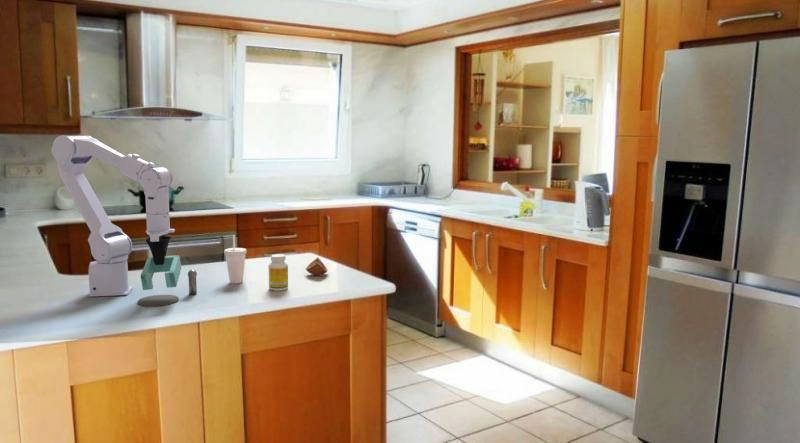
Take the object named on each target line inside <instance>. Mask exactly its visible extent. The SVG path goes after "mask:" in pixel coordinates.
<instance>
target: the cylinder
mask: <svg viewBox="0 0 800 443" xmlns="http://www.w3.org/2000/svg"><path fill="white" fill-rule="evenodd" d="M197 273H198V272H197V271H196V270H194V269H190V270H189V271H187V276H188V278H187V279H188V294H189V295H191V296H194V295H195V296H196V295H197V293H198V292H197V275H198V274H197Z"/></svg>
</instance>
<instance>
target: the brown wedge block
mask: <svg viewBox="0 0 800 443" xmlns="http://www.w3.org/2000/svg"><path fill="white" fill-rule="evenodd" d="M305 270H306V272H307V273H309V274H311V275H314V276H322V275H325V274H326V273H327V272H328V268H327V266H326V265H325V264H324V262H322V260H321V258H320V257H316V258H314V259H313V260H312V261H311V262H310V263H309V264H308V265H307V266H306V267H305Z"/></svg>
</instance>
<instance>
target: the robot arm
mask: <svg viewBox="0 0 800 443" xmlns="http://www.w3.org/2000/svg"><path fill="white" fill-rule="evenodd" d="M50 152H51V154H52V156H53V157H54V160H55V161H56V165H57V170H58V175H59V177H60V179H61V181H62V182H63V184H64V186H65V188H66V189H67V191H68V193H69V195H70V196H71V198H72V201H73V202H74V204H75V206H76V208H77V209H78V211H79V213H80V215H81V216H82V218H83V220H84V221H85V223H86V225H87V227H88V228H89V230H90V233H89V236H88V239H87V241H88V242H87V243H88V244H89V247H90V252H91V255H92V258H94V260H95V261H90V262H89V265H88V286H89V294H88V296H89V297H110V296H127V295H128V294H129V293H130V292H131V290H132V289H133V286H131V285H129V269H128V268H129V267H128V266H129V265H128V259H129V255H130V254H131V252H132V249H133V242H132V239H131V238H130V237H129V235H127V234H125V232H124V231H123V229H122V228H121V227H119V226H118V225H115V224H114V223H112V221H111V220H110V218H109V216H108V214H107V213H106V212H107V211H105V209H104V208H103V207H104V206H103V205H102V203H101V201H100V200H99V199H98V196H97V195H96V193H95V192H94V190H93V188H92V186H91V184H90V182H89V181H88V178H87V177H86V175H85V170H86V168H87V167H88V165H89V164H90V162H91V161H92V160H93V157H94V158H97V159H99V160H102V161H104V162H106V163H108V164H111V165H113V166H116V167H117V169H118V171H119V172H120V174H121V175H124V176H126V177H128V178H130V179H132V181H135V182H138V183H139V184H140V186H141V187H142V189H143V193H144V196H145V215H146V217H145V218H146V230H145V233H146V234H147V235H148V236H149V237H147V238H145V242H146V244H147V245H148V247H149V250H150V252H151V255H152V257H153V260H154V263H155V265H163V264H164V260H165V256H167V253H168V247H169V243H170V241H171V240H172V235H171V234H170V233H175V231H176V229H175V228H171V224H170V222H171V221H170V220H171V219H170V200H169V199H170V198H169V197H170V195H169V187H170V186H171V185H172V183H173V175H172V172H171V170H170V169H168V168H166V167H165V166H163V165H161V166H156V165H155V163H154V162H149V161H146V160H143V158H141V157H140V155H139V154H137V153H133V154H130V153H129V154H126V155H124V154H122V153H120V152H118V151H117V150H115V149H113V148H112V147H110V146H108V145H106V144H105V143H104V142H100V140H99V139H97V138H94V137H92V136H90V135H87V134H83V135H64V134H63V135H58V136H57V137H56V138H55V139H54V141H53V143H52V147H51V150H50Z"/></svg>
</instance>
